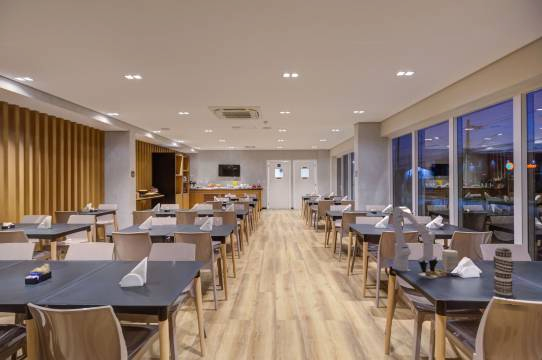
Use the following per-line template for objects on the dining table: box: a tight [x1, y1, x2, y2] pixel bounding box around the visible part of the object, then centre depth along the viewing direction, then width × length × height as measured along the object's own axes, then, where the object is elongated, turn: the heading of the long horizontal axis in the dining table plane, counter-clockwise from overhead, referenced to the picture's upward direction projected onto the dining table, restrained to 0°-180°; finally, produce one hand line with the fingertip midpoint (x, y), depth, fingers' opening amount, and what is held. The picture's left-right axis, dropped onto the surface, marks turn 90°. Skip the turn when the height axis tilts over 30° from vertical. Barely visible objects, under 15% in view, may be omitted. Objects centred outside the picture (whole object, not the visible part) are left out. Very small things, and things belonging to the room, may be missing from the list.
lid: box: [417, 270, 439, 280], centre depth 212 cm, size 9×7×4 cm
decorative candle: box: [493, 246, 514, 296], centre depth 183 cm, size 9×9×25 cm
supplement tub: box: [441, 249, 459, 274], centre depth 224 cm, size 10×10×15 cm
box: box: [427, 268, 448, 278], centre depth 216 cm, size 9×7×3 cm
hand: (427, 271), depth 213 cm, fingers open, 7 cm apart
